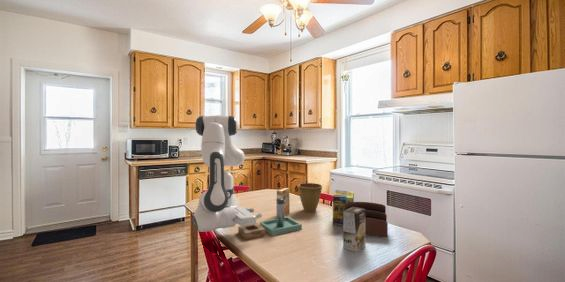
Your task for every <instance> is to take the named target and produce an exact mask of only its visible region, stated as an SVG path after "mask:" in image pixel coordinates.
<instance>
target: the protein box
mask: <svg viewBox="0 0 565 282" xmlns="http://www.w3.org/2000/svg"><path fill="white" fill-rule="evenodd" d="M354 199H355V192H354V191H349V190H346V191H345V190H337V189H336V190H335V192H334V194H333V196H332V225H333V226H340V227H343V217H344V210H345V203H347V202H355V200H354Z"/></svg>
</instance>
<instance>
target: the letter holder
mask: <svg viewBox="0 0 565 282" xmlns="http://www.w3.org/2000/svg"><path fill="white" fill-rule="evenodd" d="M351 207H358V208H363V209H366V218H365V237H374V238H385V239H388V236H389V235H388V230H389V229H388V227H389V226H388V225H389V224H388V222H387V220H388V219H387V217H388V216H387V214H386V211H387V209H386V208H387V207H386V205H384V204H383V203H382V204H381V203H375V202H369V201H354V202H347V203H345V210H346V209H349V208H351Z"/></svg>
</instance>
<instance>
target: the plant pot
mask: <svg viewBox="0 0 565 282" xmlns="http://www.w3.org/2000/svg"><path fill="white" fill-rule="evenodd" d="M297 187H298V192H299V193H298V194H299V199H300V203H301V205H302V209H303V211H305V212H309V213H313V212H316V210H317V208H318V205H319V202H320V199H321V195H322V190H323V185H322V184H319V183H313V182H304V183H303V182H302V183H299V184H298V186H297Z"/></svg>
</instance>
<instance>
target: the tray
mask: <svg viewBox="0 0 565 282" xmlns="http://www.w3.org/2000/svg"><path fill="white" fill-rule="evenodd" d="M259 225H260V226H262V227H263V228H264V229H265V233H267V234H269V235H270V236H271V237H273V235H274V236H278V235H281V234H286V233H291V232H296V231H300V230H302V229H303V228H302V227H303V226H302V225H303V224H302V223H301V222H298V221H297V220H294V219H293V218H292V217H289V216H284V227H277V218H273V219H268V220H263V221H259Z"/></svg>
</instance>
